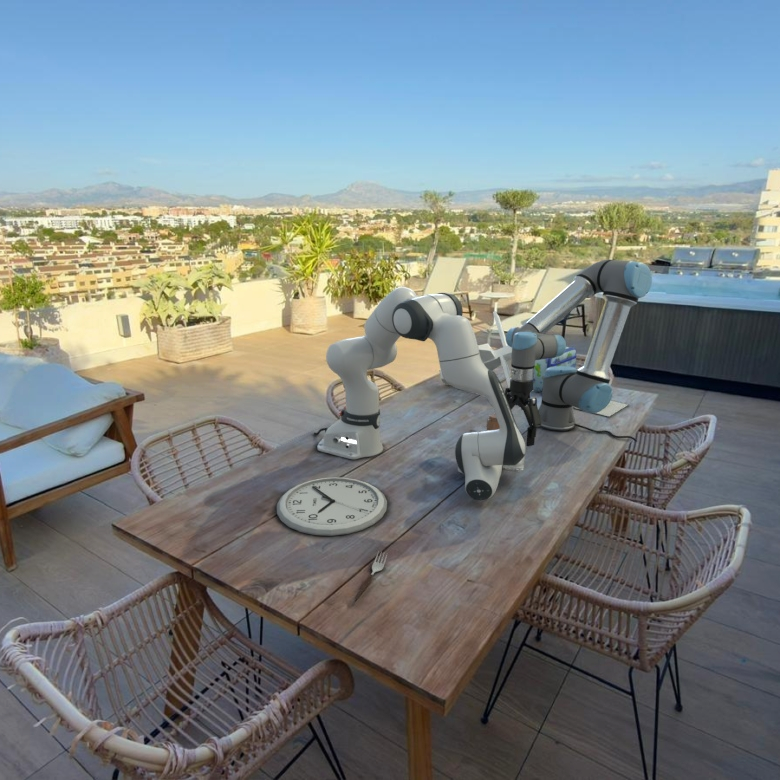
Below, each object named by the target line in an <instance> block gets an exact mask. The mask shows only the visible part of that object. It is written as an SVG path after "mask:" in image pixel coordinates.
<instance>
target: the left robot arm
mask: <svg viewBox="0 0 780 780" xmlns="http://www.w3.org/2000/svg"><path fill="white" fill-rule="evenodd" d="M463 309H464V308H463V304H462V302H461V300H460V299H459V298H458V297H457V296H456V295H455V294H452V293H449V292H439V293H431V294H425V295H422V296H418V294H417V293H416V292H415V291H414V290H412V289H411V288H410V287H409V288H408V287H405V286H399V287H396V288H394V289H393V290H391V292H389V293H388V294H387V295H386V296H385V297H383V299H381V301H379V303H378V304H377V306H376V307H375V308H374V310H373V311H372V312H371V314H369V316H368V317H367V319H366V321H365V323H364V328H363V329H364V334H363V335H361V336H358V337H357V336H356V337H350V338H344V339H341V340H337V341H335V342H334V343H331V344H330V345H329V346H328V347H327V350H326V354H325V361H326V364H327V366H328V368H329V369H330V371H332V372H333V373H334V374H336V375H337V376H338V377H339V379H340V380H341V382H342V384H343V388H344V395H345V406H343V409H341V410H340V412H339V413H338V418H340V419H338V420H336V421H335V422H334V423H333V424H331V425H328V426H325V427H323V428H319V430H318V431H317V432H314V433H313V436H314V435H315V436H318V435H320V433H321V432H323V431H324V436H323V438H322V439H321V440H320V441H319V442H318V444H317V446H316V447H317V451H319V452H322V453H326V454H329V455H333V456H336V457H341V458H345V459H349V460H359V459H361V458H368V457H369V458H370V457H374V456H377V455H379V454H381V453H382V452H383V450H384V446H383V442H382V438H381V430H380V426H381V409H380V389H379V386H378V385H377V384H376V383H375V382H373V381H372V380H369V378H368V374H367V373H368V371H369V370H374V369H379V368H383V367H385V366H387V365H389V364H391V363H393V362H394V361H395V360H396V358H397V354H398V347H397V344H396V343H397V341H398V340H399V339H400V337H402V338H404V339H408V340H414V341H415V340H416V341H419V342H426V341H427V340H428V339H430V340H431V341H432V342H433V343H434V345H435V348H436V352H437V359H438V364H439V369H440V370H441V372H442V375H443V378H444V380H445V381H446V382H447V383H448V384H449V385H448V386H451V387H453V388H455V389H457V390H460V391H463V392H468V393H472V394H476V395H479V396H482V397H484V398H485V399H486V400H487V401H488V402H489V403H490V405H491V407H492V410H493V412H494V413H493V414H495V415H496V418H497V421H498V423H499V426H500V429H497V430H489V431H487V430H482V431H480V430H478V431H471V432H470V431H469V432H466V433H465V432H464V433H462V434H461V435H460V436H459V438H458V439H457V441H456V444H455V448H454V449H455V450H454V454H455V455H454V456H455V461H456V465H457V466H456V467H457V472H458V473H460V474H463V475H464V490H465V492H466V495H467V496H468V497H469V498H471V499H473V500H474V501H481V502H482V501H487V500H489V499H490V498H492V497H493V496H494V494H495V493H496V491H497V489H498V486H499V483H500V478H501V475H502V472H506V473H512V474H518V473H519V472H524V470H525V456H526V443H525V440H524V437H523V435H522V433H521V432H520V429H519V427H518V424H517V422H516V420H515V417H514V414H513V411H512V409H510V406H509V403H508V401H507V398H506V395H505V389H504V388H503V386H502V383H501V381H500V379H499V376H498V375H497V373H496V372H495V370H493V371H491V370H488V369H487V368H486V366H485V365H484V364H483V362H482V360H481V357H480V353H479V348H478V341H477V337H476V334H475V331H474V329H473V326H472V323H471V322H470V320H469V319H468V318H467V317H465V316H463V313H464V312H463Z"/></svg>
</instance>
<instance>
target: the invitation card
mask: <svg viewBox="0 0 780 780" xmlns="http://www.w3.org/2000/svg"><path fill="white" fill-rule="evenodd" d="M628 406H629V404H627V403H623V402H618V401H614V400H611V401H610V402H609V404H608V405H607V406H606V407H605V408H604V409H602V410H601V411H600V412H597V413H595V414H596V415H600V416H604V417H608V418H609V417H611V416H613V415H614V414H616V413H617V412H619V411H621V410H623V409H624V408H626V407H628ZM573 409H575V410H581V409H579V408H576V407H574V406H573ZM581 411H582V410H581Z"/></svg>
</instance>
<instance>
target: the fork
mask: <svg viewBox="0 0 780 780" xmlns="http://www.w3.org/2000/svg"><path fill="white" fill-rule="evenodd" d="M379 552H380V550H378V551H377V554H376V556H375V559H374V561H373V563H372V565H371V570H372V572H371V574H369V576H368V577H366V579H365V581H364V582H362V585H361V587H360V589H359V592H358V593H357V596H356V598H355V599H354V602H355V603H356V602H357V601H358V600H359V599H360V597H361V595H362V594H363V593H364V592H365V591H366V590H367V588H368V587H369V585H370V583H371V581H372V579H373V576H374V574H375V573H377V572H381V571H382V570H383V569H384V567H385V564H386V561H387V556H388V554H386V555H385V552H383V551H382V550H381V552H380V553H379ZM382 552H383V554H382ZM378 555H379V556H378ZM384 555H385V557H384Z"/></svg>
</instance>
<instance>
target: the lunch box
mask: <svg viewBox="0 0 780 780" xmlns="http://www.w3.org/2000/svg"><path fill="white" fill-rule="evenodd" d="M576 362H577V348H576V347H571V346H566V350H565V352H564V354H563V355H561V356H558V357H555V358H548V359H541V360H535V369H534V379H533V390H532V392H537V393H541V394H542V390H543V378H544V375H545V370H546V369H547V368H549V367H555V366H568V367H575V368H576V364H577V363H576Z"/></svg>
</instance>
